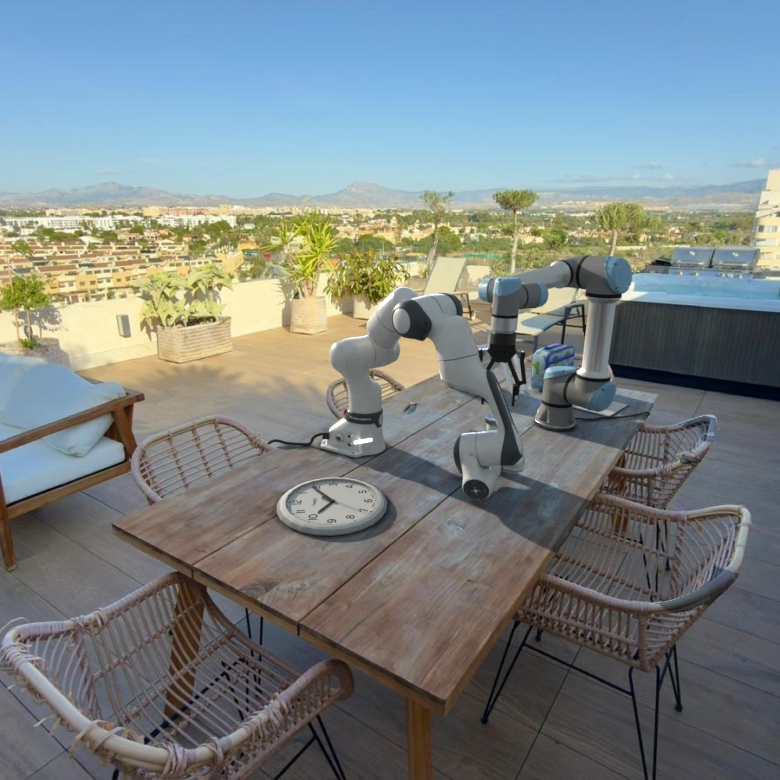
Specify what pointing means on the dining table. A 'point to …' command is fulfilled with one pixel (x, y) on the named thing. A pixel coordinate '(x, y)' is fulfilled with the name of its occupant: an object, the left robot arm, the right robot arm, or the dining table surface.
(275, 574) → the dining table surface
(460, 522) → the dining table surface
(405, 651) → the dining table surface
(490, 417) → the lid
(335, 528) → the wall clock
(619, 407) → the invitation card
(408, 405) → the fork
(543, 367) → the lunch box
